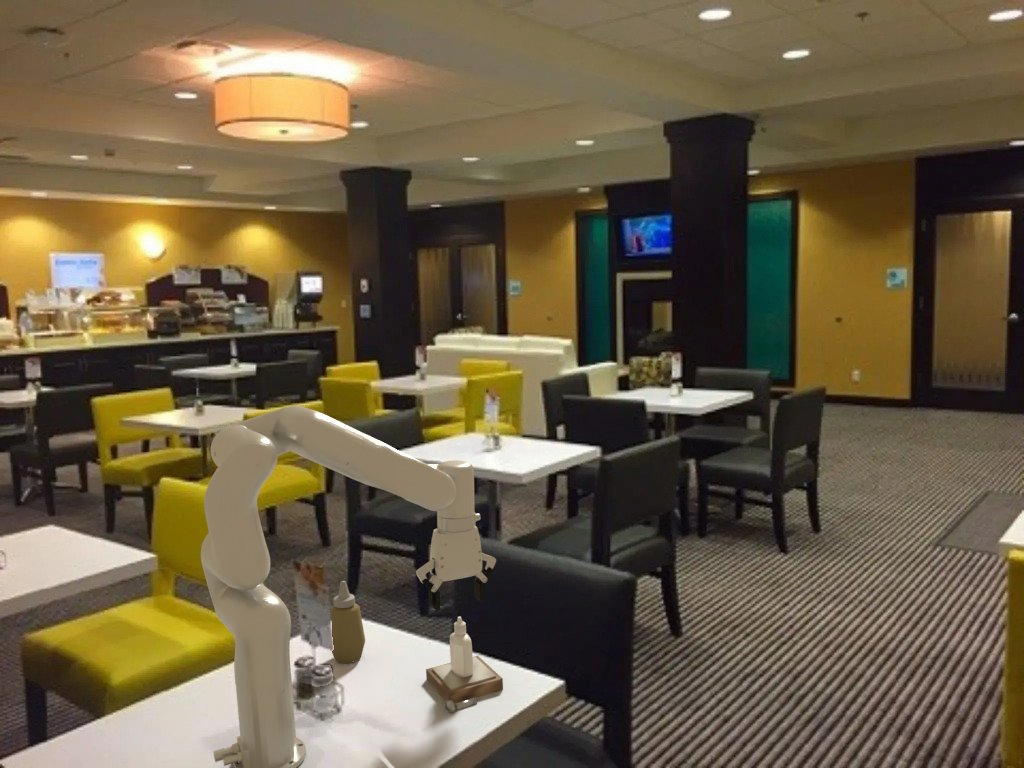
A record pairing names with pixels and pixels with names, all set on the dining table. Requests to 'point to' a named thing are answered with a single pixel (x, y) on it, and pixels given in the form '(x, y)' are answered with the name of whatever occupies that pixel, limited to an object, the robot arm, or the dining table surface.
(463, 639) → the eye dropper bottle
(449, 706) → the loose bolt
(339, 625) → the squeeze bottle
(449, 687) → the picture frame
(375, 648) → the dining table surface
